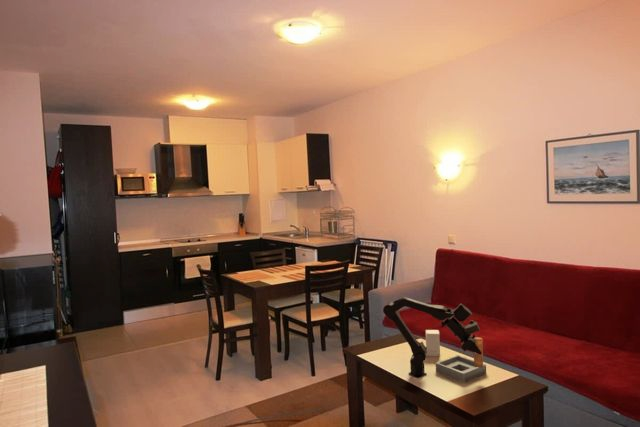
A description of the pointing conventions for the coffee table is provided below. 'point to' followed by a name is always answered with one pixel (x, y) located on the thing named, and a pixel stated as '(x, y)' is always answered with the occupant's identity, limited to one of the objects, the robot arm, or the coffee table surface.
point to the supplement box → (433, 342)
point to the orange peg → (477, 357)
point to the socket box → (458, 362)
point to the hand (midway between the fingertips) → (481, 352)
